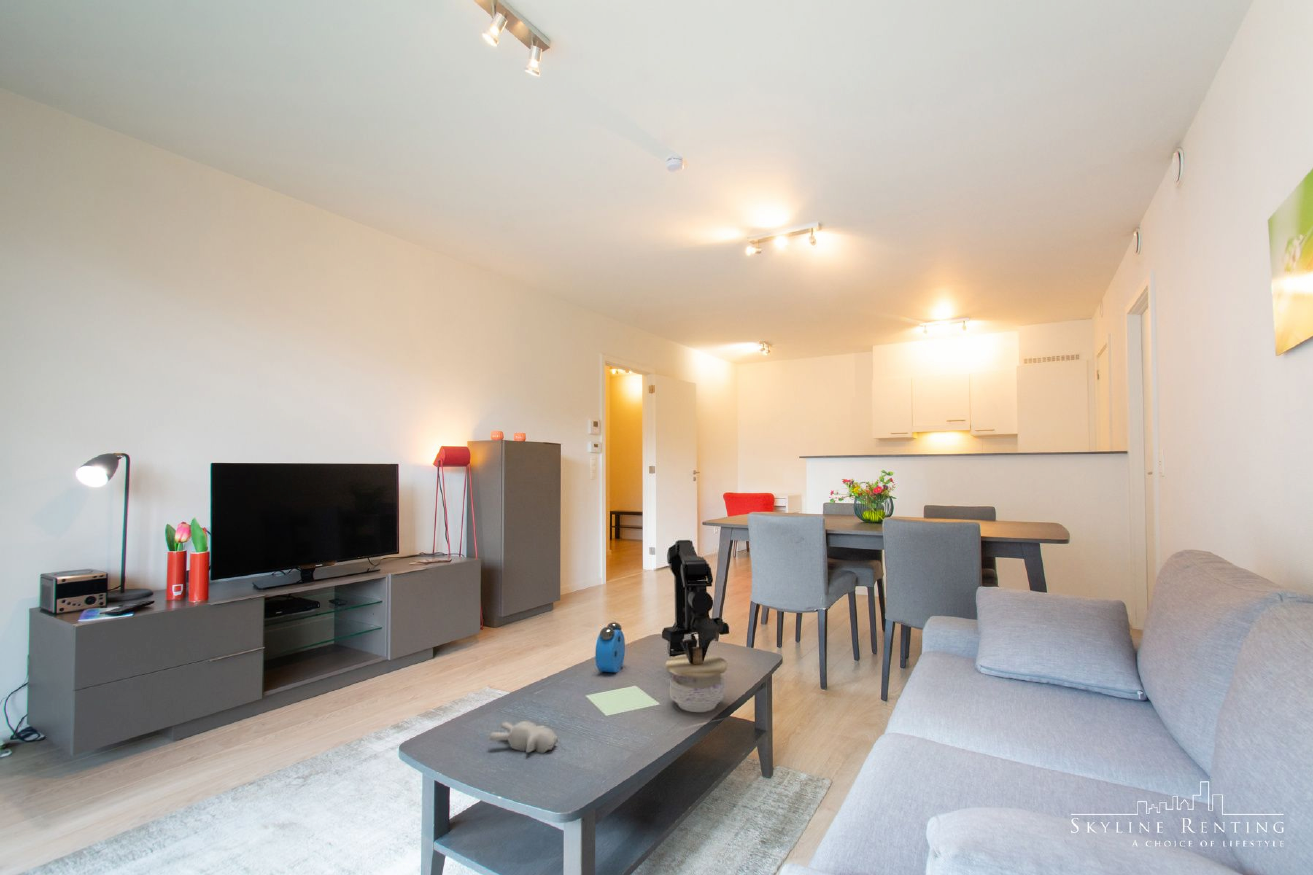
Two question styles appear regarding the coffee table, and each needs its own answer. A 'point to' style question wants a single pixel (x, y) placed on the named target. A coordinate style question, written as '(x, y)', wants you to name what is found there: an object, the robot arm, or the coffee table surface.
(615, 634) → the alarm clock
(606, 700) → the mat
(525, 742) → the bunny figurine
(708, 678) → the white and purple bowl
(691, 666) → the lid
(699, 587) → the robot arm
